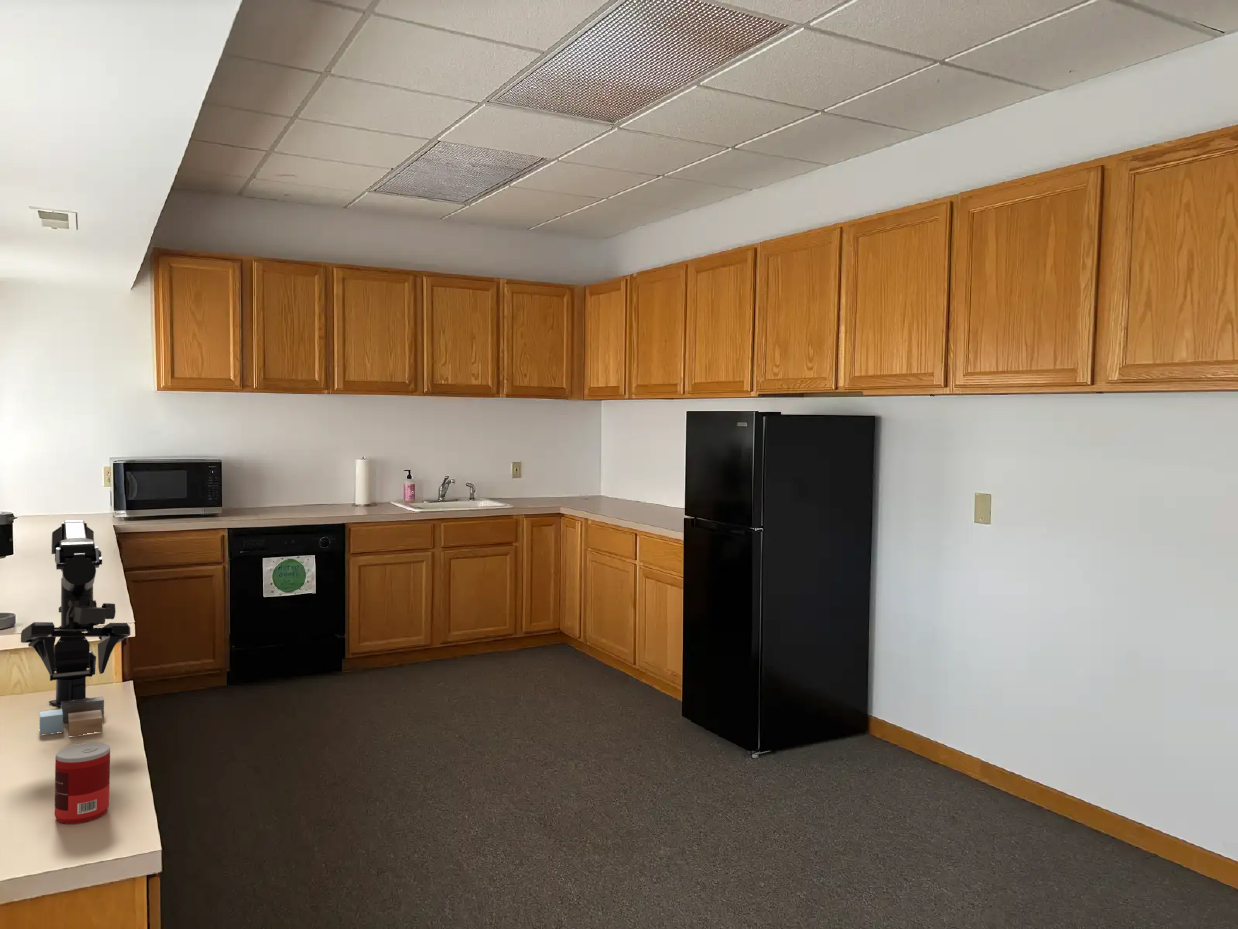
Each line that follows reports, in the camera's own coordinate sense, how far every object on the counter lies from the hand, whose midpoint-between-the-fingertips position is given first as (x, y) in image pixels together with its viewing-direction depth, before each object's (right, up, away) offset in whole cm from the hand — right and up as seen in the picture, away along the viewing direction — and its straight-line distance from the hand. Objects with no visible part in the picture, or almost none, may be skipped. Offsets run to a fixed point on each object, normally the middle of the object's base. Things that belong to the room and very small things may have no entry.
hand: (77, 674), depth 180 cm
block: (-11, -14, +8) cm, 19 cm away
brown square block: (-4, -14, +9) cm, 17 cm away
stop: (-9, -14, +16) cm, 23 cm away
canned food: (+19, -17, -30) cm, 40 cm away
